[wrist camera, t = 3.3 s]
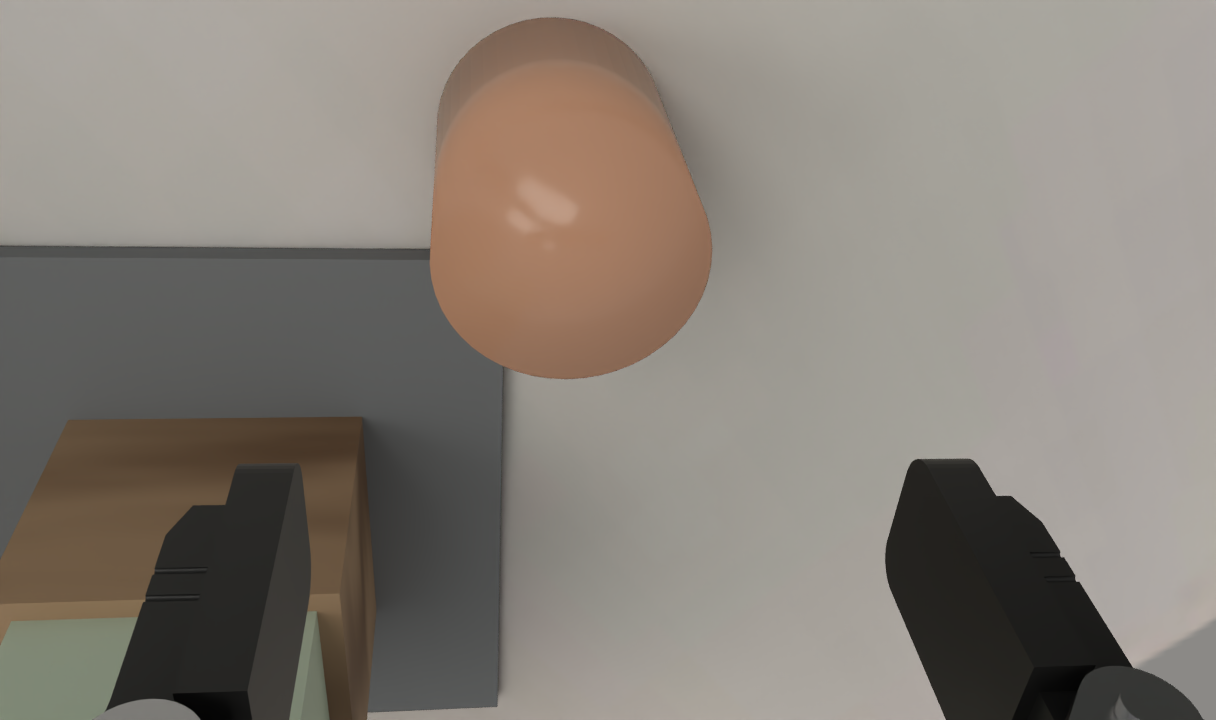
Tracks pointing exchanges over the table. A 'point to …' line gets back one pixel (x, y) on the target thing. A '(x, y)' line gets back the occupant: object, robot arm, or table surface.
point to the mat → (286, 411)
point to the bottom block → (160, 496)
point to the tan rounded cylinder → (562, 204)
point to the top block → (107, 669)
